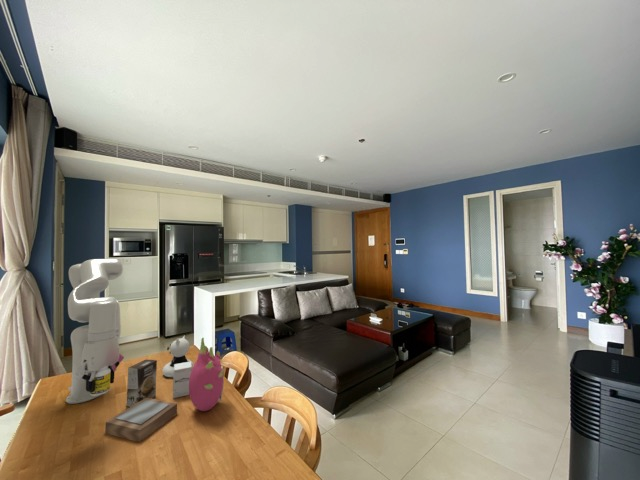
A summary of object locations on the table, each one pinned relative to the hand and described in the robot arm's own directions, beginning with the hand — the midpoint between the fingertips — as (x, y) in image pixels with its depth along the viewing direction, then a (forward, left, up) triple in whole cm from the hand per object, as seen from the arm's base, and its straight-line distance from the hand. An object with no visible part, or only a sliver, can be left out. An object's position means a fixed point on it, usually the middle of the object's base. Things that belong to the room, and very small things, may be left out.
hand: (100, 386), depth 92 cm
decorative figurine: (-11, +47, -18) cm, 51 cm away
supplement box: (+7, +31, -18) cm, 36 cm away
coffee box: (-5, +21, -18) cm, 28 cm away
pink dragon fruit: (+26, +24, -18) cm, 39 cm away
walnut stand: (+9, +10, -17) cm, 22 cm away
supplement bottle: (0, 0, -2) cm, 2 cm away
